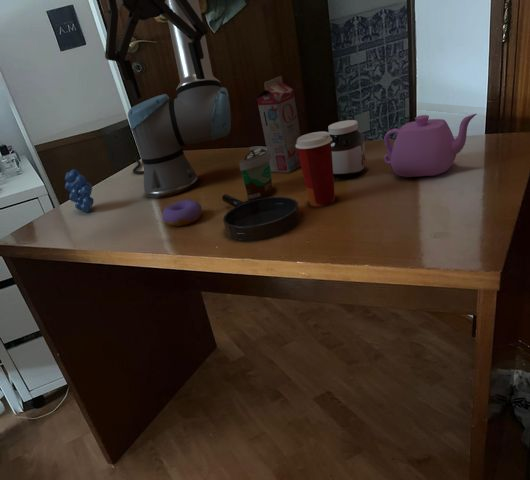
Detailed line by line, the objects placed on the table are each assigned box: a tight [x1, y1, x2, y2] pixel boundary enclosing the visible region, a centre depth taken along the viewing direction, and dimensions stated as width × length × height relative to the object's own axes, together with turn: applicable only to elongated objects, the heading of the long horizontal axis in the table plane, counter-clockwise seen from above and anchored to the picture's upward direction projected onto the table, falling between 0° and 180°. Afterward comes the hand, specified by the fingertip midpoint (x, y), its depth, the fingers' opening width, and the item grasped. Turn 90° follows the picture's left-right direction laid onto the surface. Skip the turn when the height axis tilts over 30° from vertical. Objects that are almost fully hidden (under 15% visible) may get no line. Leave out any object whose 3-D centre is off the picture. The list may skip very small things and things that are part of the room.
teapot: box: [383, 113, 478, 178], centre depth 116 cm, size 20×13×12 cm, turn 64°
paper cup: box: [295, 131, 336, 208], centre depth 113 cm, size 8×8×14 cm
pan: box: [222, 196, 301, 242], centre depth 112 cm, size 16×16×3 cm
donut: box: [161, 199, 203, 227], centre depth 124 cm, size 10×9×5 cm
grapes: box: [64, 168, 94, 213], centre depth 145 cm, size 12×7×12 cm, turn 46°
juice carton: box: [256, 75, 302, 173], centre depth 138 cm, size 7×7×22 cm
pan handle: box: [221, 193, 250, 208], centre depth 122 cm, size 12×3×2 cm, turn 27°
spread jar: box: [327, 119, 367, 180], centre depth 127 cm, size 12×11×12 cm
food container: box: [238, 145, 274, 201], centre depth 127 cm, size 12×6×10 cm, turn 168°
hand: (169, 88), depth 105 cm, fingers open, 13 cm apart
